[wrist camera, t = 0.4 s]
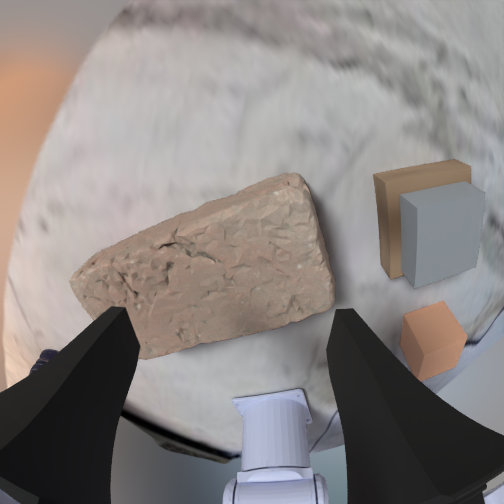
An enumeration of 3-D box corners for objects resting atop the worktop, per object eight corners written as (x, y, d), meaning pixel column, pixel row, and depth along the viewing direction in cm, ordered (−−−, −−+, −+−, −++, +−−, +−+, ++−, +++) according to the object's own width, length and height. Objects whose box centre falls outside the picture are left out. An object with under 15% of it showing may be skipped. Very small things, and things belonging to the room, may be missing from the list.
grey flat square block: (460, 251, 17) (476, 267, 15) (400, 269, 17) (414, 288, 15) (465, 181, 14) (485, 192, 12) (399, 194, 15) (417, 208, 13)
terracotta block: (436, 331, 24) (455, 366, 19) (399, 344, 24) (416, 383, 20) (443, 300, 21) (467, 336, 17) (403, 314, 22) (424, 354, 18)
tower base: (450, 240, 19) (465, 255, 17) (378, 260, 20) (390, 279, 18) (450, 157, 16) (471, 166, 13) (369, 172, 17) (385, 182, 14)
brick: (297, 163, 16) (311, 184, 12) (331, 271, 20) (347, 314, 16) (91, 249, 20) (61, 284, 16) (145, 325, 23) (129, 365, 19)
